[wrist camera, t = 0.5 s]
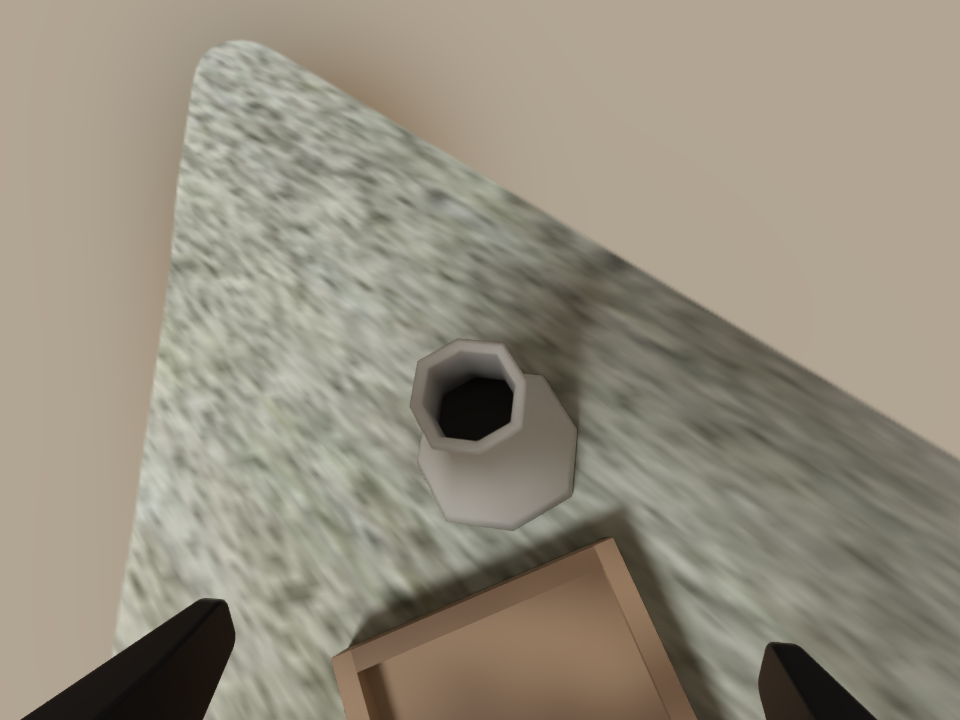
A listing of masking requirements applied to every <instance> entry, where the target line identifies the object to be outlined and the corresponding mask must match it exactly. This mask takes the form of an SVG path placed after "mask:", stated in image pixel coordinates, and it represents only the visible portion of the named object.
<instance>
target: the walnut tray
mask: <svg viewBox="0 0 960 720" xmlns="http://www.w3.org/2000/svg"><path fill="white" fill-rule="evenodd" d="M331 661H332V665H333V668H334V672H335V676H336V680H337V683H338V687H339V691H340V695H341V699H342V702H343V706H344V710H345V714H346V717H347V720H697V718H696V716H695V714H694V711H693V709H692V707H691V705H690V703H689V701H688V699H687V696H686V694H685V692H684V690H683V688H682V686H681V683H680V681H679V679H678V677H677V675H676V673H675V670H674V668H673V666H672V664H671V662H670V660H669V657H668V655H667V653H666V651H665V649H664V647H663V645H662V642H661V640H660V638H659V636H658V634H657V632H656V629H655V627H654V625H653V623H652V621H651V619H650V616H649V614H648V612H647V610H646V608H645V606H644V603H643V601H642V599H641V597H640V595H639V593H638V591H637V588H636V586H635V584H634V582H633V580H632V578H631V575H630V573H629V571H628V569H627V567H626V565H625V562H624V560H623V558H622V556H621V554H620V552H619V549H618V547H617V545H616V543H615V541H614V539H613V538H612V537H605V538H603V539H601V540H598V541H596V542H594V543H591V544H589V545H587V546H584V547H582V548H580V549H577V550H575V551H573V552H570V553H568V554H566V555H563V556H561V557H559V558H556V559H554V560H552V561H549V562H547V563H545V564H542V565H540V566H538V567H535V568H533V569H531V570H528V571H526V572H524V573H521V574H519V575H517V576H514V577H512V578H510V579H507V580H505V581H503V582H500V583H498V584H495V585H493V586H491V587H488V588H486V589H484V590H481V591H479V592H477V593H474V594H472V595H470V596H467V597H465V598H463V599H460V600H458V601H456V602H453V603H451V604H449V605H446V606H444V607H442V608H439V609H437V610H435V611H432V612H430V613H428V614H425V615H423V616H421V617H418V618H416V619H414V620H411V621H409V622H407V623H404V624H402V625H400V626H397V627H395V628H393V629H390V630H388V631H386V632H383V633H381V634H379V635H376V636H374V637H372V638H369V639H367V640H365V641H362V642H360V643H358V644H355V645H353V646H351V647H348V648H347V649H345V650H344V651H342V652H340V653H339V654H337V655H336V656H334V657H333V658H331Z"/></svg>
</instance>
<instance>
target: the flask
mask: <svg viewBox="0 0 960 720" xmlns="http://www.w3.org/2000/svg"><path fill="white" fill-rule="evenodd" d="M410 408H411V410H412V412H413V414H414V416H415V418H416V420H417V422H418V424H419V426H420V427H421V429H422V435H421V441H420V447H419V453H418V459H417V464H418V466H419V468H420V470H421V472H422V474H423V476H424V478H425V480H426V482H427V484H428V486H429V488H430V490H431V491H432V493H433V495H434V497H435V499H436V501H437V503H438V505H439V507H440V509H441V511H442V513H443V515H444V517H445V519H446V521H447V522H454V523H461V524H468V525H475V526H482V527H489V528H496V529H502V530H509V531H514V530H516V529H518V528H519V527H521V526H523V525H524V524H526V523H528V522H529V521H531V520H533V519H535V518H536V517H538V516H540V515H541V514H543V513H545V512H546V511H548V510H550V509H551V508H553V507H555V506H557V505H558V504H560V503H562V502H563V501H565V500H567V499H568V498H570V497H572V488H573V476H574V464H575V452H576V440H577V428H576V427H575V425H574V424H573V422H572V420H571V419H570V417H569V416H568V414H567V412H566V411H565V409H564V408H563V406H562V405H561V403H560V401H559V400H558V398H557V397H556V395H555V393H554V392H553V390H552V389H551V387H550V386H549V384H548V382H547V381H546V379H545V378H544V376H542V375H532V374H523V373H522V372H521V370H520V368H519V367H518V365H517V364H516V362H515V360H514V359H513V357H512V355H511V354H510V352H509V351H508V349H507V347H506V346H505V344H504V343H500V342H490V341H479V340H468V339H456V340H454V341H453V342H451V343H449V344H447V345H446V346H444V347H442V348H440V349H438V350H437V351H435V352H433V353H431V354H430V355H428V356H426V357H424V358H422V359H421V360H419V361H418V362H417V367H416V373H415V378H414V384H413V390H412V395H411V401H410Z"/></svg>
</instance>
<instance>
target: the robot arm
mask: <svg viewBox="0 0 960 720" xmlns="http://www.w3.org/2000/svg"><path fill="white" fill-rule="evenodd" d="M234 644H235V629H234V625H233V622H232V618H231V614H230V611H229V607H228V604H227V602H226V601H225V600H222V599H213V598H203V599H200V600H198V601H196V602H195V603H193V604H192V605H190V606H189V607H187V608H186V609H184V610H183V611H181V612H180V613H178V614H177V615H175V616H174V617H172V618H171V619H169V620H168V621H166V622H165V623H163V624H162V625H160V626H159V627H157V628H156V629H154V630H153V631H151V632H150V633H148V634H147V635H146V636H144V637H143V638H141V639H140V640H138V641H137V642H135V643H134V644H132V645H131V646H129V647H128V648H126V649H125V650H123V651H122V652H120V653H119V654H117V655H116V656H114V657H113V658H111V659H110V660H108V661H107V662H105V663H104V664H102V665H101V666H100V667H98V668H97V669H95V670H94V671H92V672H91V673H89V674H88V675H86V676H85V677H83V678H82V679H80V680H79V681H77V682H76V683H75V684H73V685H71V686H70V687H68V688H67V689H65V690H64V691H62V692H61V693H59V694H58V695H56V696H55V697H54V698H52V699H51V700H49V701H47V702H46V703H45V704H43V705H42V706H40V707H39V708H37V709H36V710H34V711H33V712H31V713H30V714H28V715H27V716H25V717H24V718H22V719H21V720H203V718H204V716H205V714H206V711H207V709H208V706H209V704H210V702H211V699H212V697H213V695H214V692H215V690H216V688H217V685H218V683H219V681H220V678H221V676H222V673H223V671H224V669H225V666H226V664H227V662H228V659H229V657H230V655H231V652H232V650H233V647H234ZM758 686H759V694H760V698H761V702H762V705H763V709H764V713H765V717H766V720H877V719H876V718H875V717H874V716H873V715H872V714H871V713H870V712H869V711H868V710H867V709H866V708H865V707H864V706H862V705H861V704H860V703H859V702H858V701H857V700H856V699H855V698H854V697H853V696H852V695H851V694H850V693H849V692H848V691H847V690H846V689H845V688H844V687H842V686H841V685H840V684H839V683H838V682H837V681H836V680H835V679H834V678H833V677H832V676H831V675H830V674H829V673H828V672H827V671H826V670H825V669H823V668H822V667H821V666H820V665H819V664H818V663H817V662H816V661H815V660H814V659H813V658H812V657H811V656H810V655H809V654H808V653H807V652H806V651H805V650H803V649H802V648H801V647H800V646H798V645H796V644H792V643H781V642H770V643H769V644H768V645H767V646H766V649H765V653H764V657H763V661H762V665H761V670H760V674H759V679H758Z"/></svg>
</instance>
